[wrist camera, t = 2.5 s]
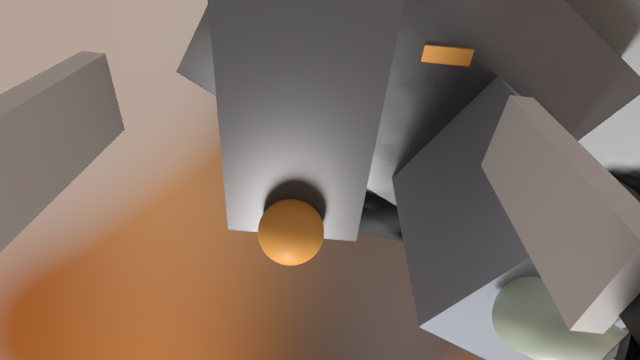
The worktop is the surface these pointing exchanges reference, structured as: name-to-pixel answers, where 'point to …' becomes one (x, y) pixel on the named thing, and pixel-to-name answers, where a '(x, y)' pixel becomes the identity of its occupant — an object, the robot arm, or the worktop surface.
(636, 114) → the worktop surface
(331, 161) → the dark gray slab
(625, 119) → the worktop surface
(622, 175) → the worktop surface
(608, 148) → the worktop surface
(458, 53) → the base
